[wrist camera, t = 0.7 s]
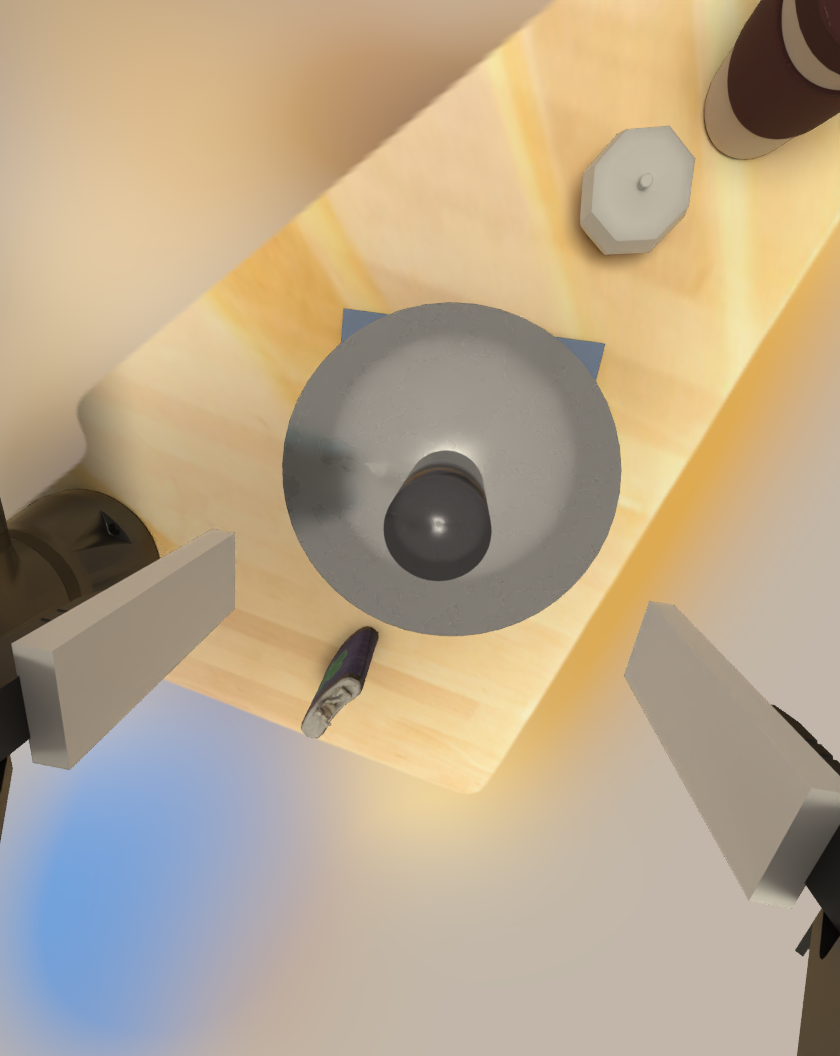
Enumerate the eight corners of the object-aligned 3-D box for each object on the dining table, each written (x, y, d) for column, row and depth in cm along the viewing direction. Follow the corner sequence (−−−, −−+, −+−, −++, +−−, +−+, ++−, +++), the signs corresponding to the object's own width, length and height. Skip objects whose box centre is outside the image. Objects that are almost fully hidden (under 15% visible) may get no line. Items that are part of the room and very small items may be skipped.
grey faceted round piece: (678, 243, 36) (723, 213, 30) (582, 289, 37) (606, 269, 31) (651, 134, 34) (693, 78, 28) (551, 188, 35) (569, 146, 29)
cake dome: (331, 544, 46) (211, 686, 24) (348, 315, 39) (202, 227, 17) (541, 579, 45) (612, 759, 23) (597, 349, 38) (773, 299, 16)
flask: (339, 686, 52) (308, 758, 42) (319, 672, 52) (283, 741, 42) (384, 634, 50) (363, 698, 40) (363, 619, 49) (337, 679, 39)
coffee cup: (836, 144, 33) (1118, -38, 19) (697, 206, 35) (856, 83, 21) (818, -16, 30) (1128, -368, 16) (669, 60, 32) (829, -194, 18)
